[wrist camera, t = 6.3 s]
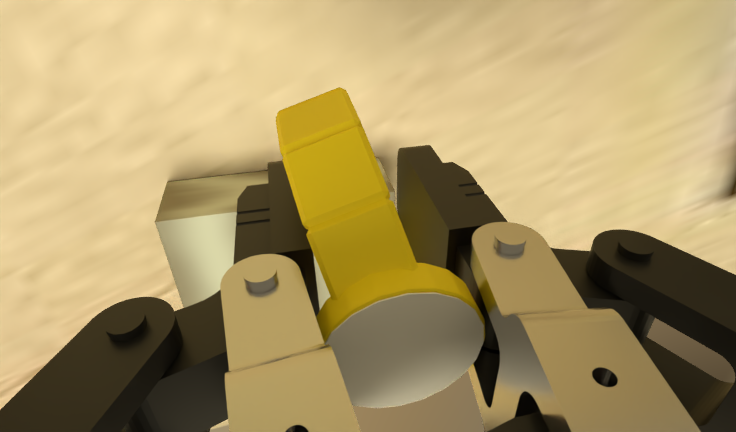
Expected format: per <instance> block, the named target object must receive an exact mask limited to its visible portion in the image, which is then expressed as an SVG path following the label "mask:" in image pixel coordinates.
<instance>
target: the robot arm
mask: <svg viewBox="0 0 736 432" xmlns="http://www.w3.org/2000/svg"><path fill="white" fill-rule="evenodd" d="M397 211H398V216H399V218H400V221H401V223H402V226H403V229H404V231H405V234H406V236H407V239H408V242H409V244H410V247H411V249H412V252H413V255H414V257H415V260H416V262H417V263H426V264H430V265H434V266H437V267H441V268H444V269H447V270H449V271H450V272H452V273H453V274H454V275H456V276H457V277H459V278H460V279H461V280H463V281H464V283H465V284H466V286H467V288H468V289H469V291H470V293H471V295H472V297H473V299H474V301H475V302H476V304H477V306H478V308H479V310H480V312H481V314H482V315H483V317H484V320H485V339H484V343H483V345H482V347H481V350H480V352H479V354H478V357H477V359H476V360H475V362H474V363H473V364H472V365H471V366H470V367H469V369H468V372H469V375H470V379H471V382H472V386H473V389H474V393H475V396H476V400H477V403H478V407H479V410H480V414H481V417H482V421H483V427H484V432H736V378H735V382H734V383H728V382H723V381H720V380H718V379H716V378H714V377H712V376H711V375H709V374H707V373H706V372H704V371H702V370H700V369H699V368H697V367H696V366H694V365H692V364H690V363H689V362H687V361H685V360H684V359H682V358H680V357H679V356H677V355H676V354H674V353H672V352H671V351H669V350H667V349H666V348H664V347H662V346H661V345H659V344H657V343H656V342H654V341H652V340H651V339H649V338H647V335H648V332H649V330H650V328H651V325H652V323H653V321H654V318H657V319H659V320H660V321H662V322H664V323H666V324H667V325H669V326H671V327H673V328H675V329H676V330H678V331H680V332H682V333H683V334H685V335H687V336H689V337H690V338H692V339H694V340H696V341H698V342H699V343H701V344H703V345H705V346H706V347H708V348H710V349H712V350H713V351H715V352H717V353H718V354H720V355H722V356H723V357H724V358H725V359H726V360H727V361H728V362H729V363H730V364H731V366H732V367H733V369H734V372H735V376H736V275H734V274H732V273H730V272H728V271H726V270H723V269H721V268H719V267H717V266H715V265H712V264H710V263H708V262H706V261H704V260H702V259H699V258H697V257H695V256H693V255H691V254H688V253H686V252H684V251H682V250H680V249H677V248H675V247H673V246H671V245H669V244H666V243H664V242H662V241H660V240H658V239H656V238H653V237H651V236H648V235H646V234H643V233H639V232H635V231H630V230H609V231H605V232H602V233H600V234H598V235H597V236H596V237H595V239H594V240H593V244H592V247H591V251H578V250H565V249H554V248H550V247H549V245H548V244H547V242H546V241H545V239H544V238H543V237H542V236H541V235H540V234H539V233H538V232H536V231H535V230H533V229H531V228H529V227H526V226H524V225H520V224H517V223H511V222H507V220H506V219H505V218H504V217H503V215H502V214H501V213H500V211H499V210H498V209H497V208H496V206H495V205H494V204H493V202H492V201H491V200H490V199H489V197H488V196H487V195H486V194H484V191H483V189H482V188H481V187H480V186H479V185H477V182H476V180H475V179H474V178H473V177H472V175H471V174H470V173H469V171H467V170H465V169H464V168H462V167H460V166H458V165H457V164H455V163H453V162H449V163H442V161H441V160H440V158H439V157H438V156H437V154H436V153H435V151H434V150H433V148H432V147H431V146H430V145H425V146H416V147H407V148H400V149H399V151H398V158H397ZM307 232H308V229H306V228H305V227H304V226H303V225H302V221H301V218H300V215H299V212H298V208H297V205H296V202H295V199H294V196H293V192H292V189H291V186H290V183H289V179H288V176H287V173H286V170H285V167H284V163H283V161H278V162H269V163H268V183H267V184H259V185H250V186H247V187H246V188H245V190H244V191H243V192H242V193H241V195H240V196H239V197H238V199H237V215H236V231H235V247H234V263H233V266H232V267H231V268H229V269H228V270H227V272H226V273H225V274H224V276H223V278H222V280H221V283H220V290H219V291H218V292H216V293H215V294H214V295H212V296H210V297H209V298H207V299H205V300H203V301H200V302H198V303H196V304H193V305H190V306H188V307H185V308H182V309H180V310H177V311H175V312H174V310H173V308H172V307H171V305H170V304H168V303H167V302H166V301H164V300H162V299H158V298H154V297H139V298H133V299H128V300H125V301H122V302H119V303H117V304H115V305H112V306H110V307H109V308H107V309H105V310H104V311H102V312H101V313H99V314H98V315H97V316H95V317H94V318H93V319H92V320H91V321H90V322H89V323H88V324H87V325H86V326H85V327H84V328H83V329H82V330H81V331H80V332H79V333H78V334H77V335H76V336H75V337H74V338H73V339H72V340H71V341H70V342H69V343H68V344H67V345H66V346H65V347H64V348H63V349H62V350H61V351H60V352H59V353H57V354H56V355H55V356H54V357H53V358H52V359H51V360H50V361H49V362H48V363H47V364H46V365H45V366H44V367H43V368H42V369H41V370H40V371H39V372H38V373H37V374H36V375H35V376H34V377H33V378H32V379H31V380H30V381H29V382H28V383H27V384H26V385H25V386H24V387H23V388H22V389H21V390H20V391H19V392H18V393H17V394H16V395H15V396H14V397H13V398H12V399H11V400H10V401H9V402H8V403H7V404H6V405H5V406H4V407H3V408H2V409H1V410H0V432H209V431H210V428H211V427H213V426H215V425H217V424H219V423H221V422H223V421H225V420H227V419H228V422H229V432H361V430H360V427H359V424H358V421H357V419H356V415H355V413H354V410H353V407H352V404H351V401H350V398H349V395H348V392H347V389H346V386H345V383H344V380H343V378H342V375H341V372H340V369H339V366H338V363H337V360H336V357H335V354H334V352H333V350H332V348H331V346H330V345H329V344H328V345H325V343H324V341H323V338H322V335H321V332H320V328H319V325H318V322H317V319H316V316H317V315H318V313H319V311H320V308H319V299H318V290H317V281H316V273H315V264H314V255H313V251H312V248H311V246H310V243H309V241H308V238H307V236H306V234H307Z"/></svg>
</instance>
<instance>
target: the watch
mask: <svg viewBox="0 0 736 432" xmlns="http://www.w3.org/2000/svg"><path fill="white" fill-rule="evenodd" d="M276 125H277V132H278V139H279V145H280V152H281V154H282V156H283V159H282V160H283V163H284V167H285V170H286V173H287V176H288V179H289V183H290V186H291V189H292V192H293V196H294V199H295V202H296V205H297V208H298V212H299V215H300V218H301V221H302V225H303V226H304V227H305V228H306V229H308V232H307V234H306V236H307V238H308V241H309V243H310V246H311V248H312V251H313V253H314V256H315V258H316V261H317V263H318V266H319V268H320V271H321V274H322V276H323V279H324V281H325V284H326V286H327V289H328V291H329V294H330V297H329V298H328V299H327V300H326V301H325V303H324V304H323V306H322V308H321V310H320V311H319V313H318V315H317V316H316V319H317V322H318V325H319V328H320V332H321V335H322V338H323V341H324V343H325V345H328V344H329V345H330V346H331V348H332V350H333V352H334V354H335V357H336V360H337V363H338V366H339V369H340V372H341V375H342V378H343V380H344V383H345V386H346V389H347V392H348V395H349V398H350V401H351V404H352V405H354V406H361V407H370V408H383V407H393V406H401V405H405V404H408V403H412V402H415V401H419V400H422V399H425V398H426V397H429V396H431V395H433V394H435V393H437V392H439V391H441V390H443V389H445V388H446V387H448V386H449V385H450V384H452V383H453V382H454V381H456V380H457V379H458V378H460V377H461V376H462V375H463V374H464V373H465V372H466V371H467V370H468V369H469V367H470V366H471V365H472V364H473V363H474V362H475V360H476V359H477V357H478V354H479V352H480V350H481V347H482V345H483V343H484V339H485V320H484V317H483V315H482V314H481V312H480V310H479V308H478V306H477V304H476V302H475V301H474V299H473V297H472V295H471V293H470V291H469V289H468V288H467V286H466V284H465V283H464V281H463V280H461V279H460V278H459V277H457V276H456V275H454V274H453V273H452V272H450V271H449V270H447V269H444V268H441V267H437V266H434V265H430V264H426V263H417V262H416V260H415V257H414V255H413V252H412V249H411V247H410V244H409V242H408V239H407V236H406V234H405V231H404V229H403V226H402V223H401V221H400V218H399V216H398V213H397V210H396V208H395V205H394V203H393V201H391V200H389V198H390V193H389V190H388V187H387V185H386V183H385V180H384V178H383V175H382V173H381V170H380V168H379V165H378V163H377V161H376V158H375V156H374V153H373V151H372V148H371V146H370V143H369V141H368V138H367V136H366V134H365V131H364V129H363V127H362V124H361V122H360V119H359V117H358V115H357V113H356V111H355V108H354V106H353V104H352V102H351V100H350V98H349V95H348V93H347V92H346V90H344V89H342V88H340V87H339V88H336V89H334V90H331V91H329V92H326V93H324V94H321V95H319V96H316V97H313V98H311V99H308V100H306V101H303V102H301V103H298V104H296V105H293V106H291V107H288V108H285V109H283V110H280V111H279V112H278V114H277V117H276Z"/></svg>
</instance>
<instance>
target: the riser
mask: <svg viewBox="0 0 736 432" xmlns="http://www.w3.org/2000/svg"><path fill="white" fill-rule="evenodd" d="M376 161H377V163H378V165H379V168H380V170H381V173H382V175H383V178H384V180H385V183H386V185H387V187H388V190H389V193H390V198H389V200H391V201H393V203H394V205H395V191H394V189H393V187H392V185H391V183H390V181H389V179H388V177H387V175H386V173H385V170H384V168H383V166H382V164H381V162H380V160H379V158H376ZM267 183H268V170H267V171H259V172H250V173H241V174H233V175H224V176H215V177H207V178H198V179H190V180H181V181H172V182H167V184H166V187H165V191H164V194H163V197H162V201H161V204H160V207H159V211H158V214H157V217H156V221H155V223H156V226H157V229H158V232H159V235H160V238H161V241H162V244H163V247H164V250H165V253H166V256H167V259H168V262H169V265H170V268H171V271H172V274H173V277H174V280H175V283H176V286H177V289H178V292H179V295H180V298H181V301H182V304H183V307H184V308H185V307H188V306H190V305H193V304H196V303H198V302H200V301H203V300H205V299H207V298H209V297H210V296H212V295H214V294H215V293H216V292H218V291H219V290H220V283H221V280H222V278H223V276H224V274H225V273H226V272H227V270H228V269H229V268H231V267H232V266H233V263H234V247H235V231H236V215H237V199H238V197H239V196H240V195H241V193H242V192H243V191H244V190H245V188H246V187H247V186H250V185H259V184H267ZM313 255H314V253H313ZM314 264H315V273H316V281H317V290H318V299H319V308H320V310H321V308H322V306H323V304H324V303H325V301H326V300H327V299H328V298H329V297H330V294H329V291H328V289H327V286H326V284H325V281H324V279H323V276H322V274H321V271H320V268H319V266H318V263H317V261H316V258H315V256H314Z"/></svg>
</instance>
